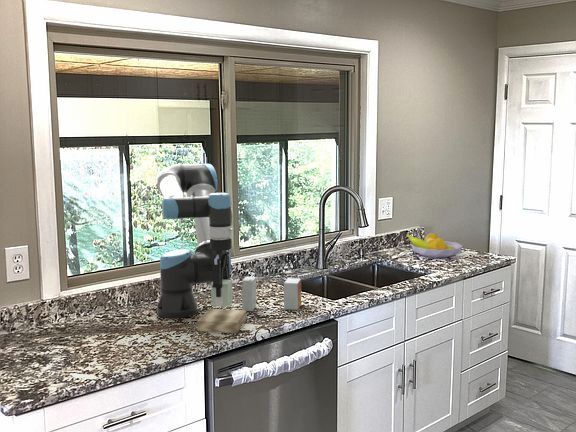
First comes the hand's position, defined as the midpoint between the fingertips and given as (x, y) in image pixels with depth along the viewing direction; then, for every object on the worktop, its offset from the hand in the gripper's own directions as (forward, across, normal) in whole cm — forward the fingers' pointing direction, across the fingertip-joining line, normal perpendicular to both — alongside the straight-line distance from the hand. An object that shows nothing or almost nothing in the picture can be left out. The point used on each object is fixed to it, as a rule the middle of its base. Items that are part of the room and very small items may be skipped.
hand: (222, 302), depth 213 cm
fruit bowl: (+8, +128, -81) cm, 152 cm away
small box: (+8, +25, -21) cm, 34 cm away
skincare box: (+8, +20, -5) cm, 22 cm away
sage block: (0, 0, 0) cm, 0 cm away
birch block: (+9, 0, 0) cm, 9 cm away
